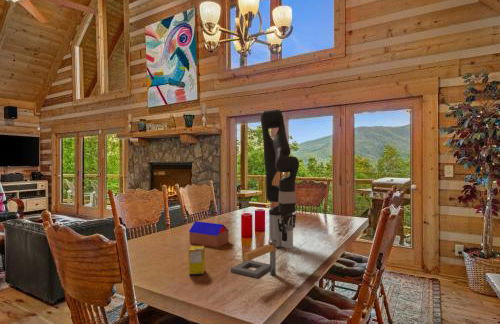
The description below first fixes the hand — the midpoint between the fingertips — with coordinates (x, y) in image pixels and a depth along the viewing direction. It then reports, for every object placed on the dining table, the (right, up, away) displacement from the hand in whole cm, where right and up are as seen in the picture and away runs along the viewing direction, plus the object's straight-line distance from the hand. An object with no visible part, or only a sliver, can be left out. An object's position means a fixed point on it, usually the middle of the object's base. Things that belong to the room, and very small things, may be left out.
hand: (287, 239), depth 139 cm
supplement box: (-39, -13, -6) cm, 42 cm away
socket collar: (-16, -13, -3) cm, 20 cm away
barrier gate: (-12, -13, -14) cm, 22 cm away
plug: (0, -3, 0) cm, 3 cm away
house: (-40, -12, +41) cm, 59 cm away
